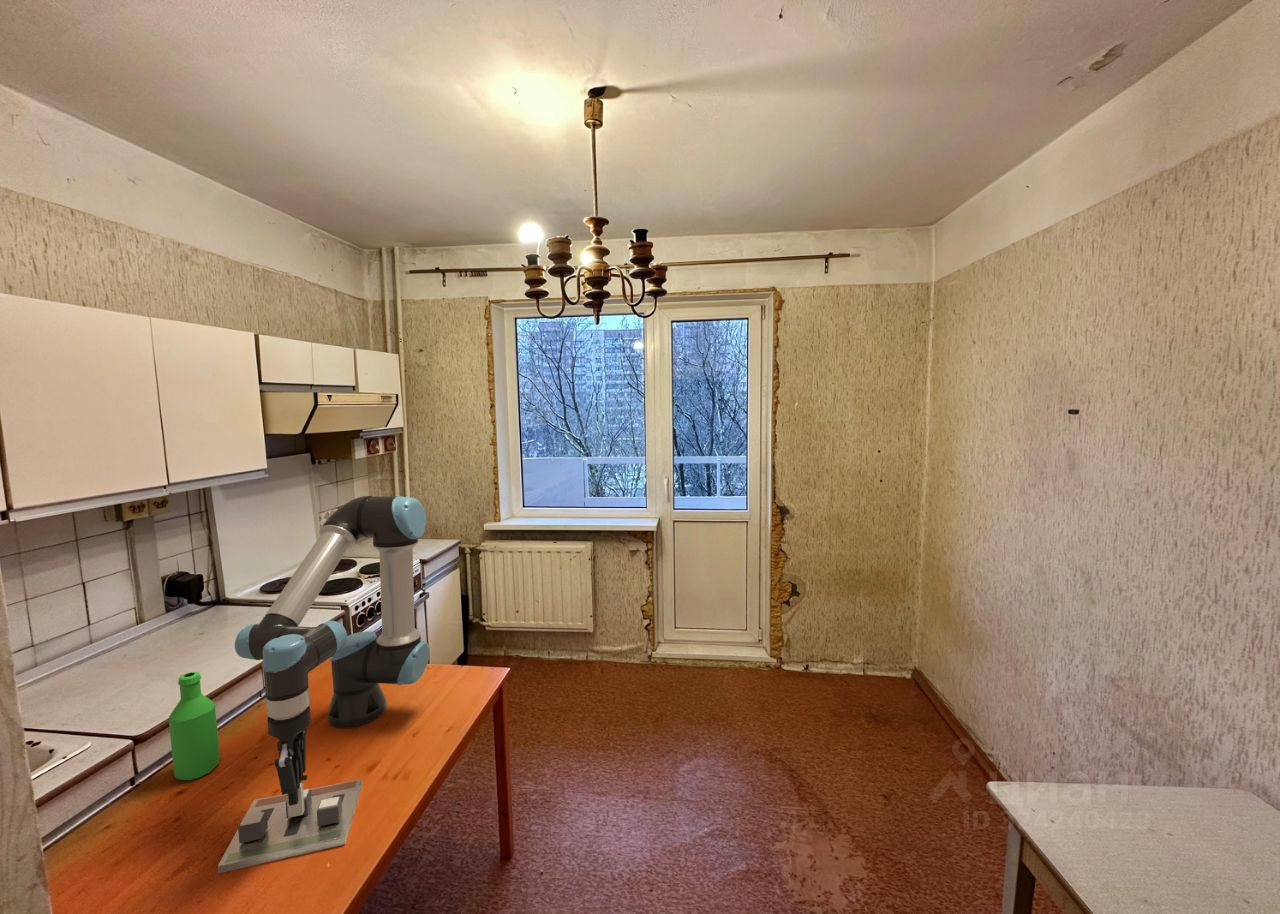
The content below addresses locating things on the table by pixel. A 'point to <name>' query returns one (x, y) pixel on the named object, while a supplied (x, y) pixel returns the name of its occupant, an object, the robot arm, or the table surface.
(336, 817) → the block
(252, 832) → the breaker
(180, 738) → the bottle
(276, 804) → the panel
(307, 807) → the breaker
